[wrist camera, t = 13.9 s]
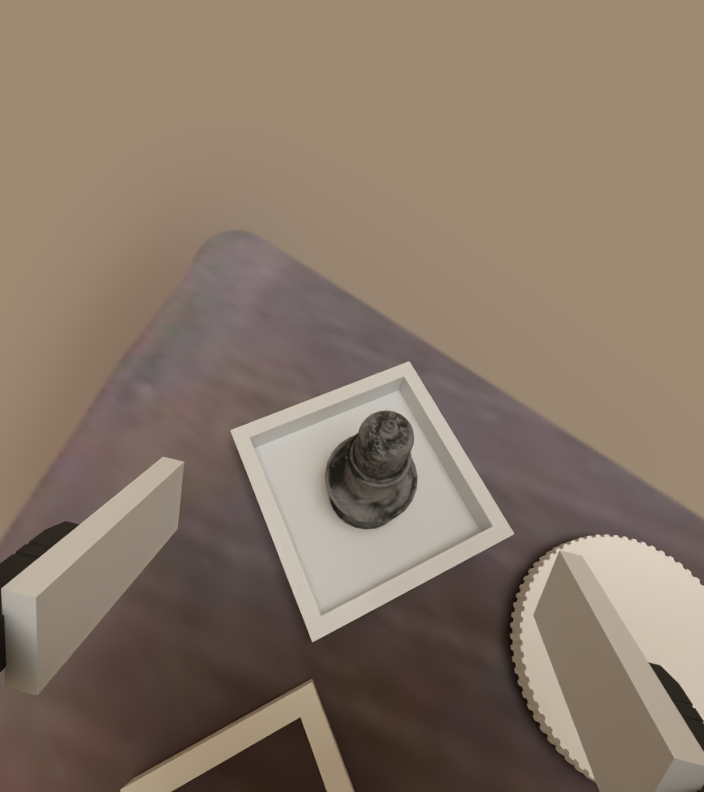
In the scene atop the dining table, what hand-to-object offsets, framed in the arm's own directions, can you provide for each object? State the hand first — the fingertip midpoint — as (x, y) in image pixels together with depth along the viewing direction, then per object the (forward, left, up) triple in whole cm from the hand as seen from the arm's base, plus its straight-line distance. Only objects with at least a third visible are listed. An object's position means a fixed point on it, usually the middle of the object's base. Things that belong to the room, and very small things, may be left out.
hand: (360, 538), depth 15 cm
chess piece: (+4, -4, -15) cm, 16 cm away
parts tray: (+4, -4, -16) cm, 17 cm away
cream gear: (-12, -14, -16) cm, 24 cm away
